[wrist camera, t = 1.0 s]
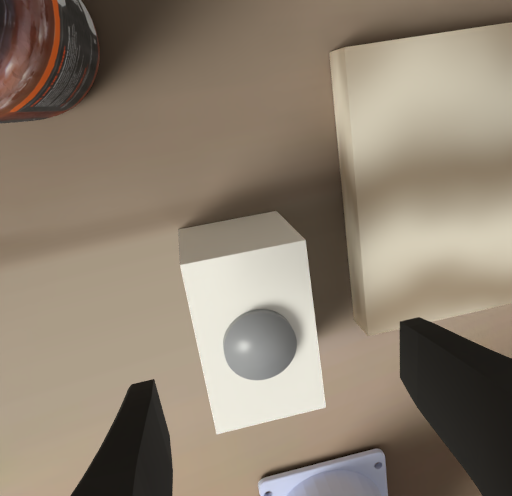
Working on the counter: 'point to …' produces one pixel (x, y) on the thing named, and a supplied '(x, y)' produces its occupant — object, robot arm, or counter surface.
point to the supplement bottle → (45, 57)
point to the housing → (252, 319)
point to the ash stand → (426, 174)
